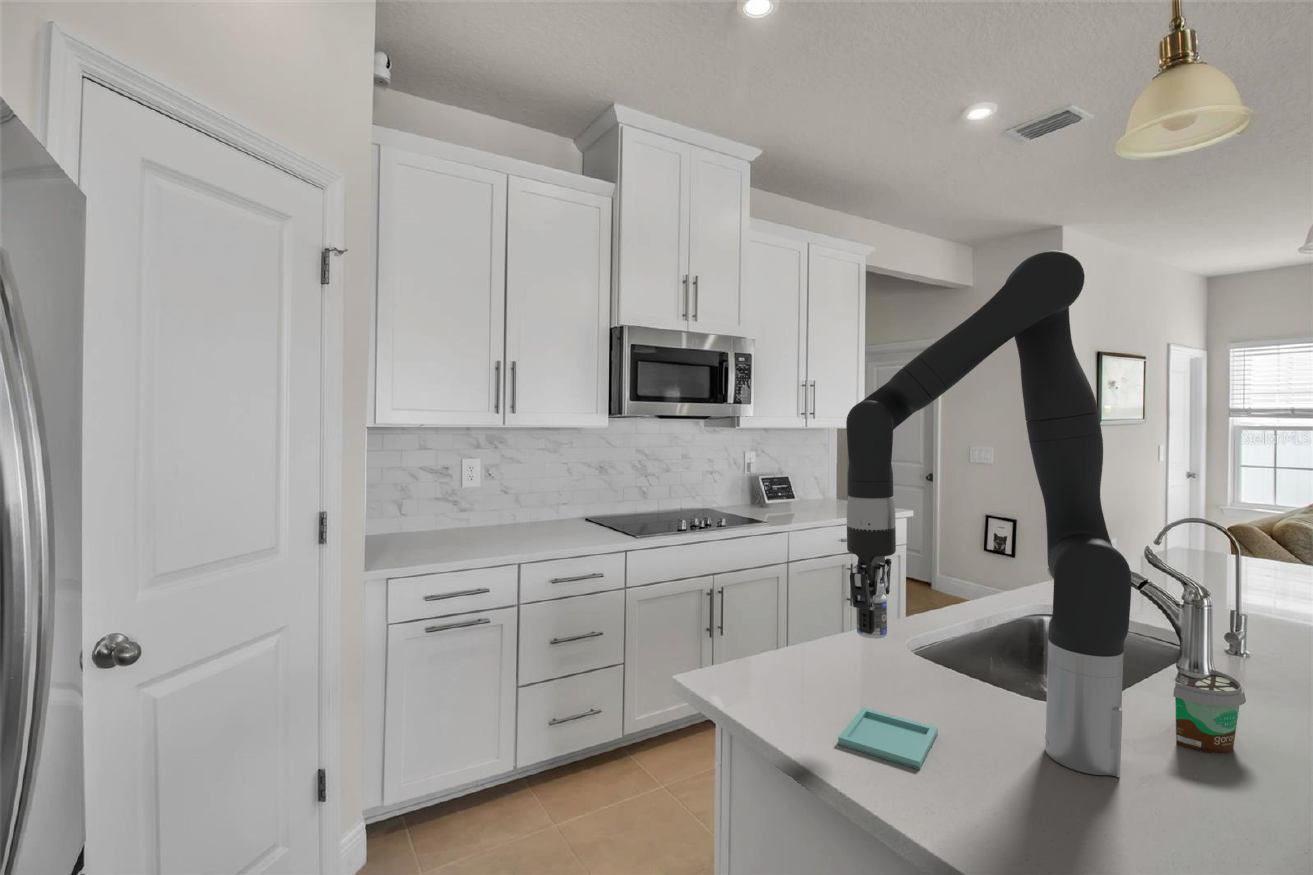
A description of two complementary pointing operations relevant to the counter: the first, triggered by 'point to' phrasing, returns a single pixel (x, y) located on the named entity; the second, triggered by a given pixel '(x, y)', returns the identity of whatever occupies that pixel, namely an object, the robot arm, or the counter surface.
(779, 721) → the counter surface
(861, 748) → the tray
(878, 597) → the pill bottle
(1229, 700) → the food container
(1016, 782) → the counter surface
